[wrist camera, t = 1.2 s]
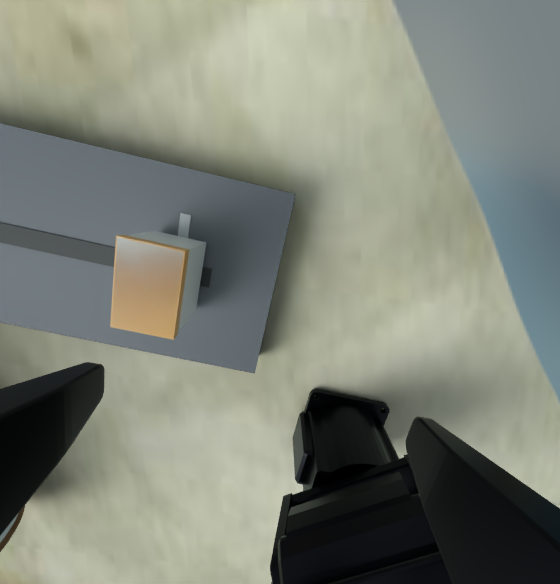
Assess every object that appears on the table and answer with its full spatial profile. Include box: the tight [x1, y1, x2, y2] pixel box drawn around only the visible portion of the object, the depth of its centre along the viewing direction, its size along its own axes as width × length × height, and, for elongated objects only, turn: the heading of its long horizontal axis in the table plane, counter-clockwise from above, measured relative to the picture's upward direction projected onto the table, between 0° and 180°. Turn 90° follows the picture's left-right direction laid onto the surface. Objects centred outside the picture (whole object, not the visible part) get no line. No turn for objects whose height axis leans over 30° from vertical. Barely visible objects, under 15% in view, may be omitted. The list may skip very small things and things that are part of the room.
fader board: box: [0, 123, 295, 373], centre depth 18 cm, size 22×12×3 cm, turn 77°
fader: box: [110, 231, 206, 340], centre depth 15 cm, size 3×4×4 cm
